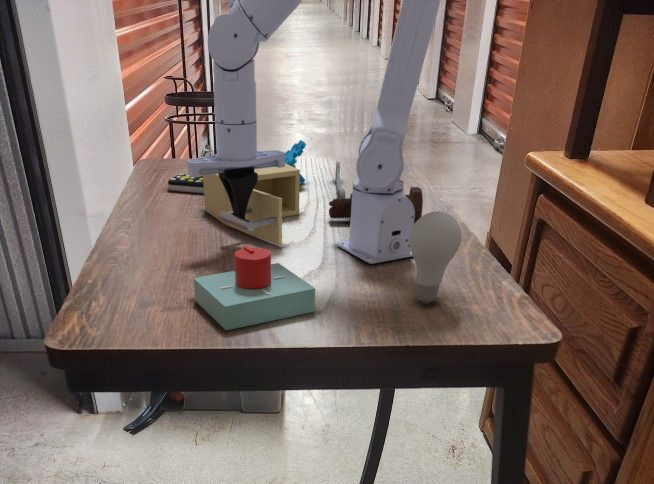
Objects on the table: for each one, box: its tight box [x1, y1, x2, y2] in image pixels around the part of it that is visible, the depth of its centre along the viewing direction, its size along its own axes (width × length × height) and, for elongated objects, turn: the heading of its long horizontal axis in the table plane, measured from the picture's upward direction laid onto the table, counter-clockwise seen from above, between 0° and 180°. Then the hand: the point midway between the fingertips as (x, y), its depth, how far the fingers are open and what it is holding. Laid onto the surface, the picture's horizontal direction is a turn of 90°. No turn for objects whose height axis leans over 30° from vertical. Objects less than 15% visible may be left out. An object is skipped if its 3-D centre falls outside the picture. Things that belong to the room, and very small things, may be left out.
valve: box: [233, 244, 272, 289], centre depth 80 cm, size 4×4×4 cm
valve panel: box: [193, 262, 316, 331], centre depth 82 cm, size 10×12×3 cm
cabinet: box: [202, 164, 301, 226], centre depth 113 cm, size 10×14×7 cm
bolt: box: [328, 186, 424, 224], centre depth 109 cm, size 6×5×15 cm
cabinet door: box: [219, 189, 283, 246], centre depth 101 cm, size 6×13×7 cm, turn 40°
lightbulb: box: [409, 210, 462, 304], centre depth 81 cm, size 6×6×11 cm
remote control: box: [167, 173, 204, 195], centre depth 126 cm, size 6×13×2 cm, turn 73°
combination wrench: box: [334, 160, 346, 199], centre depth 124 cm, size 4×1×20 cm
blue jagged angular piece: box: [284, 139, 307, 189], centre depth 128 cm, size 11×6×10 cm
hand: (239, 223), depth 100 cm, fingers closed, pressing on cabinet door
